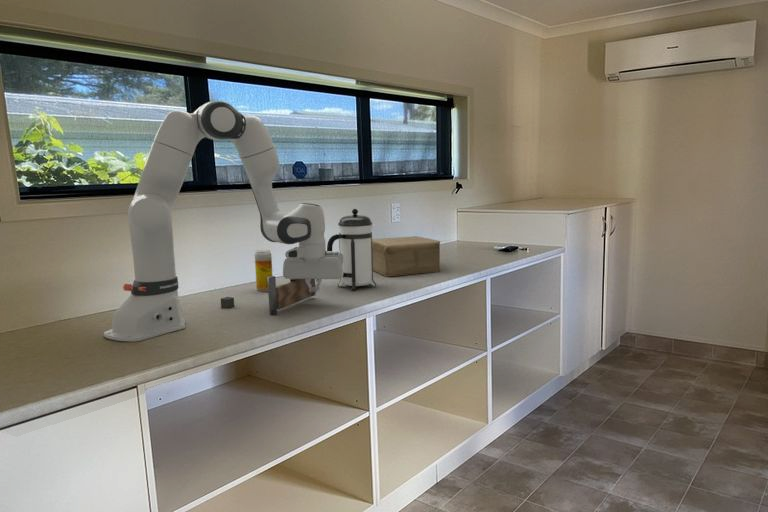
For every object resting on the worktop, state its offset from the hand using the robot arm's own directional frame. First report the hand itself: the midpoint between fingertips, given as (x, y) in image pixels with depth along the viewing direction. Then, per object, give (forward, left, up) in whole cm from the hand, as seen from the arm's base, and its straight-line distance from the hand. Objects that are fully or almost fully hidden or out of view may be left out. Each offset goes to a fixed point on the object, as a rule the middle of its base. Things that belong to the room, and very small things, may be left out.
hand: (313, 291), depth 183 cm
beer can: (+10, +28, -4) cm, 30 cm away
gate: (-4, +4, -3) cm, 7 cm away
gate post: (-17, +4, -4) cm, 18 cm away
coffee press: (+26, -2, -4) cm, 26 cm away
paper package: (+65, -4, -4) cm, 66 cm away
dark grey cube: (-15, +24, -4) cm, 29 cm away
